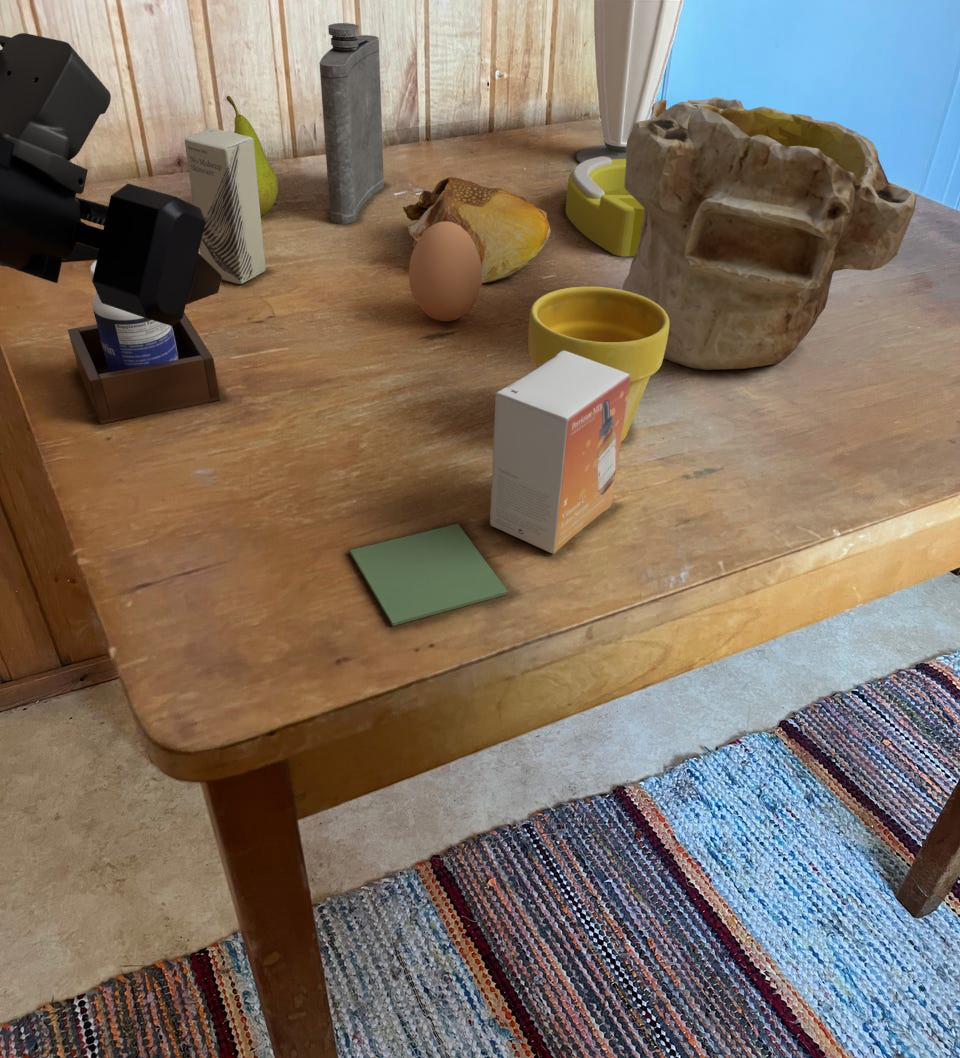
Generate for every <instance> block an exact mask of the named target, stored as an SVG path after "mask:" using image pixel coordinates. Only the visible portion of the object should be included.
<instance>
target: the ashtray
mask: <svg viewBox="0 0 960 1058" xmlns="http://www.w3.org/2000/svg"><path fill="white" fill-rule="evenodd" d="M625 171H626V159H610V158H609V157H596V158H592V159H589V160H586V161H584V162H582V163H578V164H577V166H575V168H574V169H573V170H572V171H571V173H570V174H569V176H568V179H567V191H566V202H565V215H566V217H567V219H568V220H569V221H570V222H571V224H572V225H573V226H574V227H575V228H576V229H577V230H578V231H579V232H580V233H581V234H582V235H584V236H585V237H586V238H587V239H589V240H590V241H591V242H593V243H595V244H596V246H599V247H601V248H602V249H604V250H605V251H607V252H609V253H610V254H612V255H614V256H617V257H634V255H635V253H636V250H637V247H638V244H639V241H640V237H641V225H642V221H643V215H644V207H643V206H642V205H641V204H640V203H639V202H638V201H637V200H636V199H635V198H634V197H633V196H632V195H631V194H630V193H629V192H628V191H627V190H626V189H625V188H624V182H625Z"/></svg>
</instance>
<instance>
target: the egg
mask: <svg viewBox="0 0 960 1058" xmlns="http://www.w3.org/2000/svg"><path fill="white" fill-rule="evenodd" d="M408 267H409V268H408V281H409V288H410V291H411V295H412V298H413V299H414V301H415V302H416V304H417V306H418V307H419V308H420V309H421V311H422V312H424V313H425V315H427V316H428V317H430V318H431V319H434V320H436V321H439V322H452V321H456V320H458V319H461V318H462V317H464V316H465V315H466V314H467V313H468V312H469V311H470V310H471V309H472V308H473V306H474V305H475V303H476V302H477V300H478V297H479V296H480V293H481V289H482V285H483V283H482V266H481V261H480V256H479V254H478V251H477V249H476V246H475V244H474V242H473V240H472V239H471V237H470V236H469V234H468V233H467V232H466V231H465V230H464V229H463V228H462V227H460V226H459V225H457V224H455V223H452V222H448V221H444V222H439V223H436V224H434V225H432V226H430V227H429V228H428V229H427V230H426V231H425V232H424V233H423V234H422V236H421V237H420V239H419V240H418V242H417V244H416V246H415V248H414V247H413V250H412V254H411V256H410V261H409V265H408Z"/></svg>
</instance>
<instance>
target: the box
mask: <svg viewBox="0 0 960 1058" xmlns="http://www.w3.org/2000/svg"><path fill="white" fill-rule="evenodd" d="M184 146H185V147H184V148H185V153H186V160H187V168H188V176H189V181H190V189H191V190H190V191H191V196H192V197H191V198H192V205H195V206H197V207H199V208H200V209H201V211H202V213H203V216H204V218H205V221H206V223H205V227H204V231H203V235H202V240H201V244H200V248H199V254H200V255H201V256H202V257H203V258H204V259H205V260H206V261H207V262H208V263H209V264H210V265H211V266H213V267H214V268H215V269H216V270H217V271H218V272H219V273H220V274H221V276H222V279H221V280H223V281H226V282H230V283H233V284H236V285H243V284H245V283H246V282H249V281H250V280H252V279H254V278H256V277H257V276H259V275H261V274H262V273H265V271H267V269H266V261H265V260H266V259H265V247H264V246H265V245H264V238H263V227H262V218H261V217H262V216H261V215H260V205H259V194H258V183H257V173H256V162H255V150H254V139H253V138H251V137H249V136H244V135H240V134H237V133H234V131H230V130H229V131H228V130H222V129H218V128H214V127H211V128H208V129H205V130H202V131H200V132H197V133H195V134H192V135H190V136H187V137H185V138H184Z"/></svg>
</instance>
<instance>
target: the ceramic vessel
mask: <svg viewBox="0 0 960 1058" xmlns="http://www.w3.org/2000/svg"><path fill="white" fill-rule="evenodd" d="M667 101H668V100H666V99H660V100H658V101H655V103H654V104H653V107H652V112H651V115H650V118H649V120H644V121H640V122H636V123H634V125H633V128H632V131H631V133H630V135H629V138H628V140H627V145H626V171H625V182H624V188H625V189H626V190H627V191H628V192H629V193H630V194H631V195H632V196H633V197H634V198H635V199H636V200H637V201H638V202H639V203H640V204H641V205H642V206H643V207H644V215H643V221H642V225H641V237H640V241H639V244H638V247H637V250H636V253H635V255H634V256H633V258H632V260H631V262H630V266H629V267H630V268H629V272H628V274H627V276H626V277H625V279H624V281H623V284H622V288H621V290H624V291H628V292H632V293H635V294H638V295H641V296H643V297H646V298H648V299H650V300H652V301H653V302H655V303H656V304H658V305H659V306H660V307H662V308H663V309H664V311H665V312H666V313H667V315H668V318H669V322H670V325H669V333H668V339H667V344H666V349H665V353H664V357H663V360H667V361H670V362H672V363H675V364H679V365H681V366H683V367H687V368H689V369H690V368H691V369H698V370H704V371H708V370H709V371H710V370H711V371H713V370H715V371H716V370H742V369H751V368H756V367H757V368H758V367H764V366H771V365H772V366H773V365H778V364H780V363H782V362H783V361H784V360H785V359H787V357H789V356H790V355H791V354H792V353H793V352H794V351H795V350H796V349H797V348H798V346H799V345H800V343H801V342H802V341H803V340H804V339H805V337H806V336H807V335H808V334H809V332H810V331H811V330H812V329H813V327H814V325H816V322H817V320H818V319H819V317H820V316H821V314H822V313H823V312H824V310H825V309H826V307H827V302H828V300H829V299H828V297H829V294H830V293H829V292H830V288H831V285H832V278H833V275H834V273H835V272H838V271H843V270H855V271H856V270H857V271H874V270H877V269H882V268H883V267H884V266H885V265H887V264H889V263H890V262H891V261H892V260H893V259H894V258H895V257H896V256H897V255H898V253H899V250H900V248H901V246H902V244H903V241H904V237H905V235H906V233H907V231H908V227H909V225H910V223H911V221H912V218H913V215H914V214H915V210H916V202H917V194H916V193H915V192H913V191H911V190H909V189H906V188H904V187H901V186H899V185H896V184H893V183H890V182H889V180H888V177H887V175H886V172H885V170H884V167H883V166H882V164H881V162H880V159H879V151H878V149H877V146H876V145H875V144H874V143H873V142H872V141H871V140H870V139H869V138H868V137H866V136H864V135H861V134H860V133H859V132H857V131H856V130H853V129H849V128H848V127H845V126H843V124H840V123H838V122H836V121H827V120H819V119H815V118H813V117H812V116H810V115H806V114H799V113H788V112H785V111H782V110H779V109H776V108H771V107H766V106H760V107H754V108H751V109H746V108H745V107H744V105H743V103H742V101H741V100H739V99H730V100H729V99H726V98H722V97H717V96H715V97H712V98H709V99H708V98H707V99H688V100H687V101H679V102H677V103H675V104H673V105H672V106H670V107H668V109H667V104H668V103H667Z"/></svg>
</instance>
